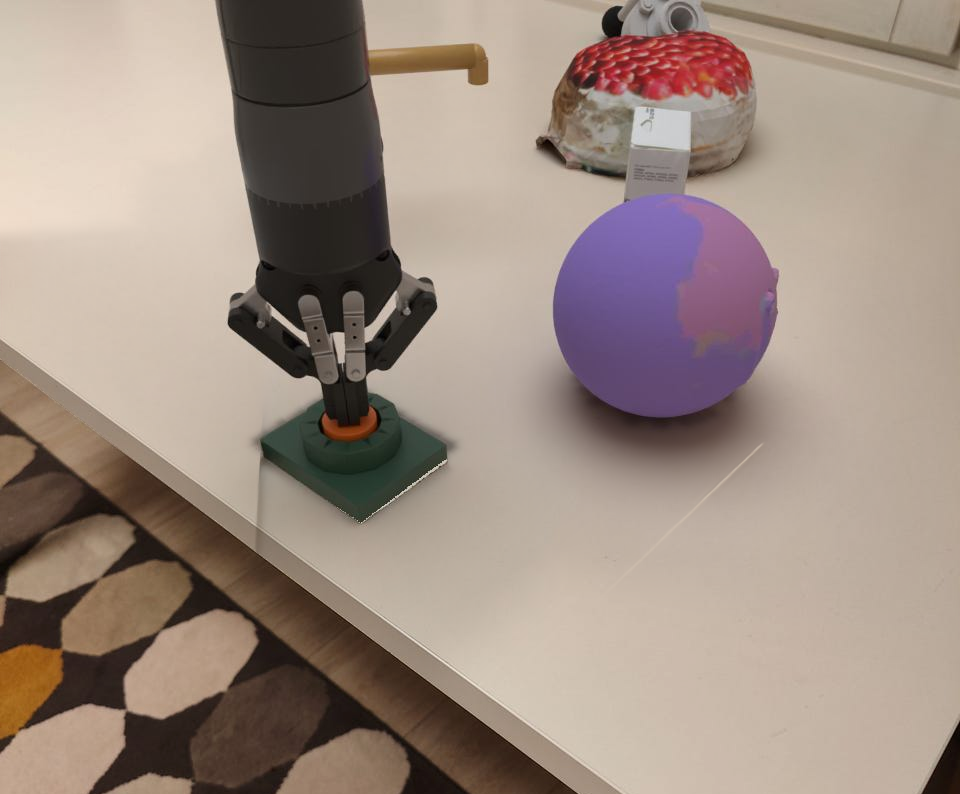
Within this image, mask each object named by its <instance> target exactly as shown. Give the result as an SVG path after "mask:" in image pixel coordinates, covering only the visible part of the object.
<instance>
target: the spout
mask: <svg viewBox="0 0 960 794" xmlns="http://www.w3.org/2000/svg"><path fill="white" fill-rule="evenodd" d="M368 54H369V65H370V76H371V77H373V76H387V75H400V74H401V75H403V74H418V73H431V72H432V73H433V72H445V71H446V72H447V71H449V72H450V71H461V70H463V71H464V70H467V83H468V84H469V85H472V86H484V85H487V84H488V83H489V57H488V56H487V53H486V50H485V48H484V47H483V46H482V45H481V44H479V43H475V42H473V43H458V44H442V45H441V44H440V45H425V46H410V47H394V48H380V49H377V48H376V49H368Z"/></svg>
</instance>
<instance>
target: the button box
mask: <svg viewBox="0 0 960 794" xmlns="http://www.w3.org/2000/svg"><path fill="white" fill-rule="evenodd" d="M368 396H369V406H370V407H372V408H373V409H374V411H375V412H376V416H377V424H378V430H377V431H376V432H374V433H372V434H371V435H369V436H368V437H366V438H365V439H360V440H355V441H350V442H344V441H336V440H331V439H330V438H328V437H326V436H325V435H324V431H323V425H322V418H323V416H324V414H325V406H324V400H323V398H322V399H321V398H320V399H319V400H318V401H316V402H315V403H313V404H311V405H310V406H309V407H307V409H306V410H305V411H303V412H302V413H300V414H299V415H297V416H296V417H294V418H293V419H290V420H289V421H287V422H285V423H283V424H282V425H280V426H279V427H277V428H276V429H274V430H273V431H271V432H269V433H268V434H266V435H264V436H262V437H261V438H260V439H259V442H260V446H261V450H262V455H263V458H265V459H267V460H268V461H269V462H270V463H272V464H273V465H275V466H276V467H278V468H279V469H281V470H282V471H283V472H285V473H286V474H288V475H289V476H291V477H292V478H294V479H295V480H296V481H298V482H299V481H300V482H299V483H301V484H302V483H303V484H302V485H304V486H305V487H306V486H307V487H306V488H308V489H309V490H311V491H312V492H313V493H315V494H316V495H318V496H319V495H320V496H319V497H320V498H322V497H323V498H322V499H323V500H325V501H327V500H328V501H327V502H328V503H329V502H330V505H332V504H333V505H332V506H334V507H335V506H336V507H335V508H337V507H338V508H339V509H341V510H342V511H344V512H346V513H347V514H349V517H350V516H351V517H354V519H356V520H358V522H360V523H361V522H363V521H364V520H366V518H368V517H369V516H371V515H372V513H374V512H376V511H377V510H378V509H380V508H381V507H382V506H384V505H385V504H387V503H388V502H390V500H392V499H393V498H395V496H397V495H399V494H400V493H401V492H402V491H404V490H405V489H407V487H408V486H410V485H412V483H414V482H416V481H417V480H419V478H421V477H422V476H423V475H425V474H426V473H428V471H430V470H432V469H433V468H434V467H436V466H438V464H440V463H442V461H444V460H446V459H447V460H448V449H447V448H448V445H447V444H446V443H445V442H443V441H441V440H440V439H438V438H437V437H435V436H434V435H431V434H430V433H428V432H426V431H425V430H423V429H421V428H419V427H418V426H416V425H415V424H413V423H411V422H410V421H408V420H406V419H404V418H403V417H401V416H400V414H399V412H398V410H397V407H396V405H395V404H394V403H393V402H392V401H390V400H388V399H386V398H385V397H383V396H382V395H380V394H378V393H374V392H368ZM338 508H337V509H338ZM339 509H338V510H339ZM341 510H340V511H341ZM342 511H341V512H342ZM344 512H343V513H344ZM347 514H346V515H347ZM351 517H350V518H351ZM354 519H353V520H354ZM358 522H357V523H358ZM360 523H359V524H360Z"/></svg>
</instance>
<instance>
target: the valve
mask: <svg viewBox="0 0 960 794" xmlns="http://www.w3.org/2000/svg"><path fill="white" fill-rule="evenodd" d="M601 30H602V32H603V34H604V35H605V36H606V38H607V39H609V38H612V37H621V36H624V35H636V36H653V37H656V36H661V35H666V34H673V33H677V32H679V31H686V30H692V31H705V32H708V33H711V27H710V22H709V20H708V16H707V14H706V13H705V10H704V9H703V7H702V1H701V0H627V1H626V2H625V4H624V5H614V6H611V7H610V8H608V9H607V10H606V11H605V12H604V14H603V15H602V17H601Z"/></svg>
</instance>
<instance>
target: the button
mask: <svg viewBox="0 0 960 794" xmlns="http://www.w3.org/2000/svg"><path fill="white" fill-rule="evenodd" d="M369 409H370V410H369V413H368V415H367V416H364V417H360V424H361V425H353V426H350V423H349V426H344V427H338V421H337V419H334V420H330V419H329V418H328V416H327V415H326V412H325V414H324V416H323V418H322V425H323V431H324V435H325V436H326V437H328V438H330V439H331V440H336V441H344V442H350V441H355V440H360V439H365V438H366V437H368V436H369V435H371V434H372V433H374V432H376V431H377V430H378V424H377V416H376V412H375V411H374V409H373V408H372V407H370V406H369Z"/></svg>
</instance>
